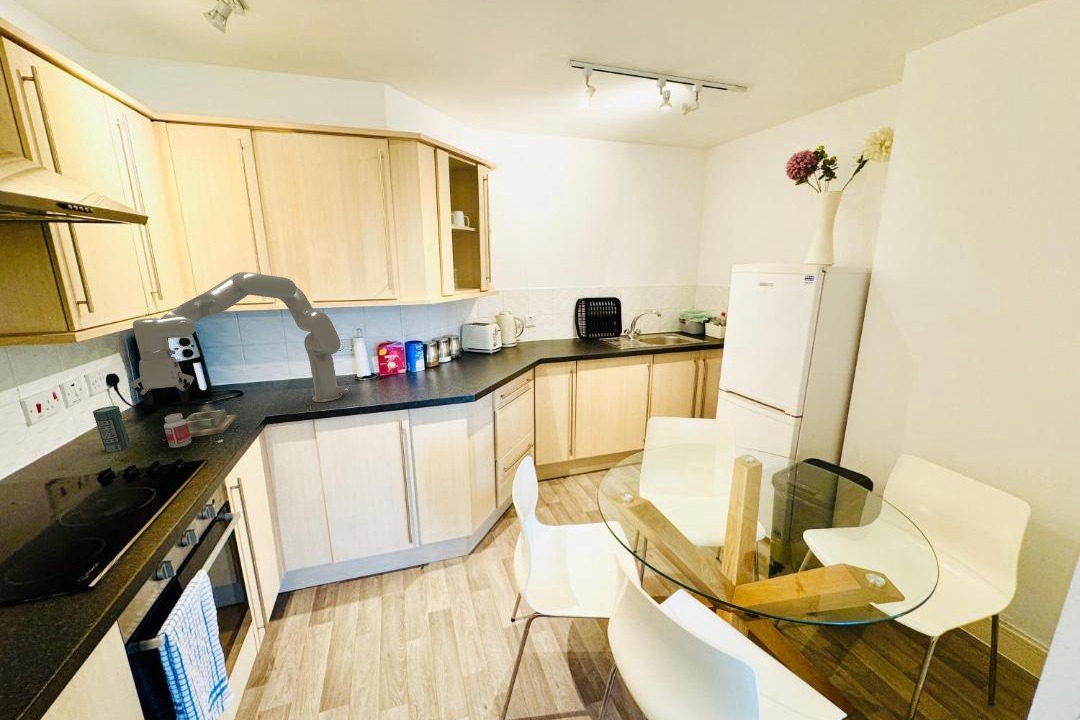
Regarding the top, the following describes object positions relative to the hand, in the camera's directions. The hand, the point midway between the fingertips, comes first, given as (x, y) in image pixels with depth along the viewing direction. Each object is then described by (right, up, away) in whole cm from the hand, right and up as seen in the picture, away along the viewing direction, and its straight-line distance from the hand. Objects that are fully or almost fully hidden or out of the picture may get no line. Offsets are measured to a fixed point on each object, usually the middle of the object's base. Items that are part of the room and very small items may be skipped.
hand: (167, 402), depth 143 cm
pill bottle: (+1, -16, +5) cm, 16 cm away
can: (-20, -17, +2) cm, 26 cm away
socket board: (-1, -12, +18) cm, 22 cm away
